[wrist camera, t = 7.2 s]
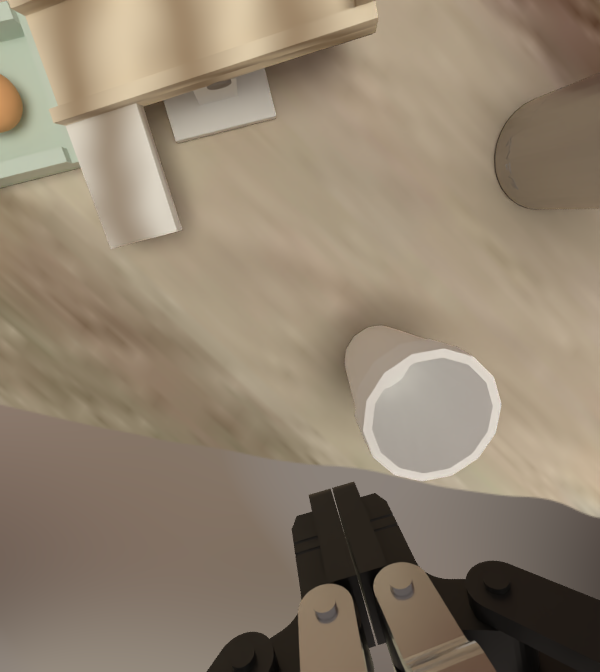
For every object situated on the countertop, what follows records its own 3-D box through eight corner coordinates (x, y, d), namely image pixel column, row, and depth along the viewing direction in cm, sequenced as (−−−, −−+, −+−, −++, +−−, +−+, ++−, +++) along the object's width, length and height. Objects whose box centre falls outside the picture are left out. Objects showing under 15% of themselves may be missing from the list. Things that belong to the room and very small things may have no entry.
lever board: (350, -90, 26) (350, -155, 21) (397, 173, 30) (406, 170, 25) (53, 20, 30) (-6, -14, 25) (131, 243, 34) (94, 252, 29)
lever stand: (240, -27, 33) (238, -74, 28) (275, 118, 36) (280, 101, 30) (133, -1, 33) (111, -44, 27) (177, 143, 35) (165, 130, 30)
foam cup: (333, 305, 40) (373, 345, 28) (432, 310, 41) (512, 351, 29) (324, 403, 43) (356, 481, 30) (417, 406, 44) (485, 481, 31)
